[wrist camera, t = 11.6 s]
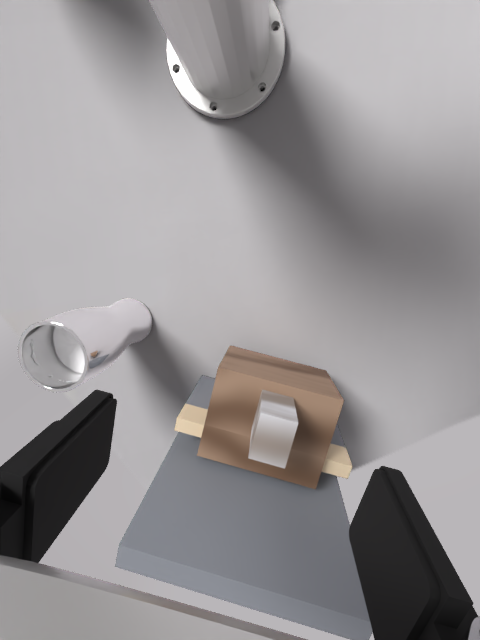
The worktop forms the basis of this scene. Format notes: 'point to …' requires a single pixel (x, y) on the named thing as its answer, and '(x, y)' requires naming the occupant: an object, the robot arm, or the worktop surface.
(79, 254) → the worktop surface
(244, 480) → the wall board
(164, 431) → the worktop surface
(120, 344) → the beer glass
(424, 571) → the robot arm
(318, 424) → the walnut cabinet
